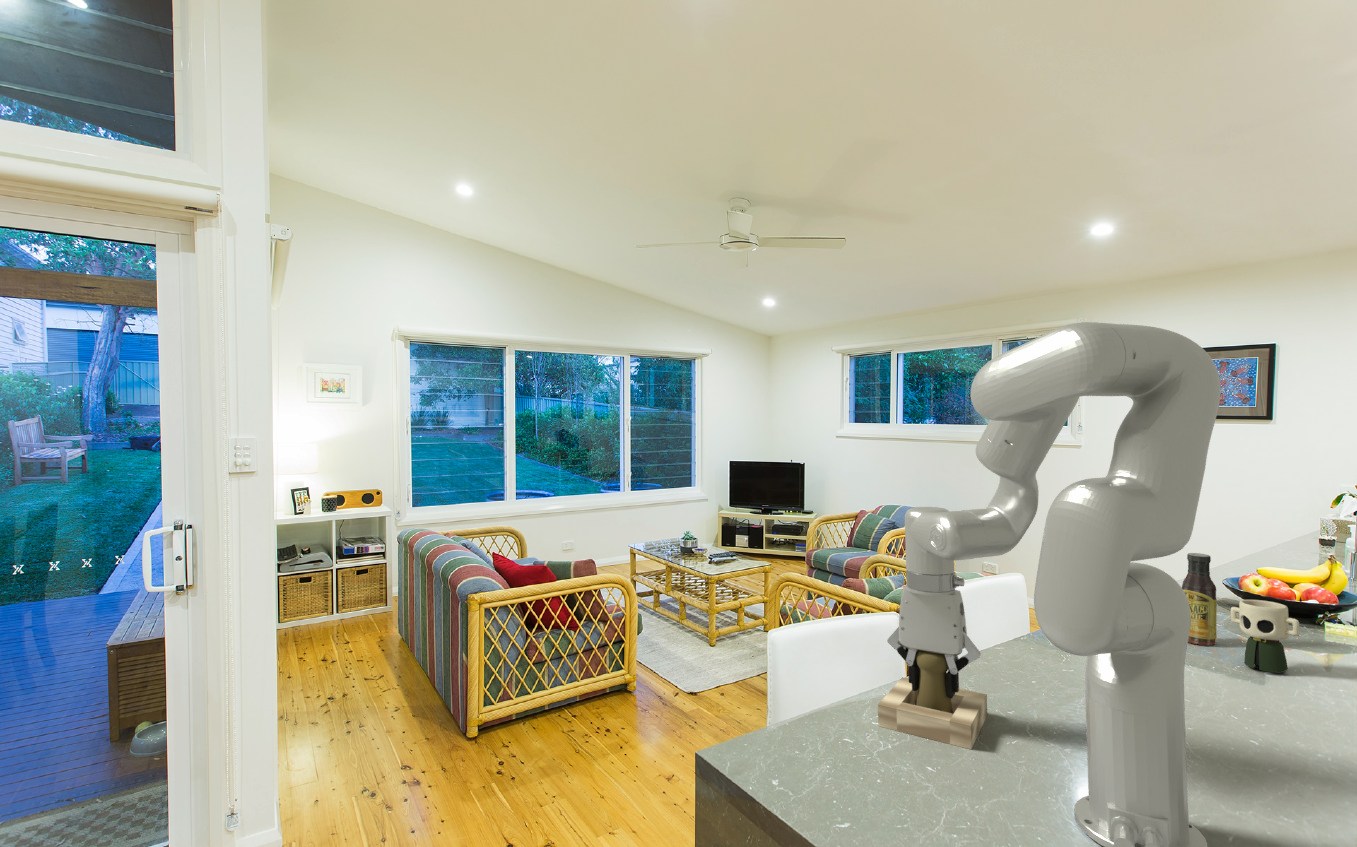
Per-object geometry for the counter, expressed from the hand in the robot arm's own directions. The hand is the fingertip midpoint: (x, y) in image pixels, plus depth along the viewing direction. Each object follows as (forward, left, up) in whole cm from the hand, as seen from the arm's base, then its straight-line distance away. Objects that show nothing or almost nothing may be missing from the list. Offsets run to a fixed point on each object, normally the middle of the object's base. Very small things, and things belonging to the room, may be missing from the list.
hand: (933, 690), depth 104 cm
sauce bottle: (+73, -40, -5) cm, 83 cm away
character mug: (+59, -49, -5) cm, 77 cm away
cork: (0, 0, -4) cm, 4 cm away
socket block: (0, 0, -5) cm, 5 cm away
